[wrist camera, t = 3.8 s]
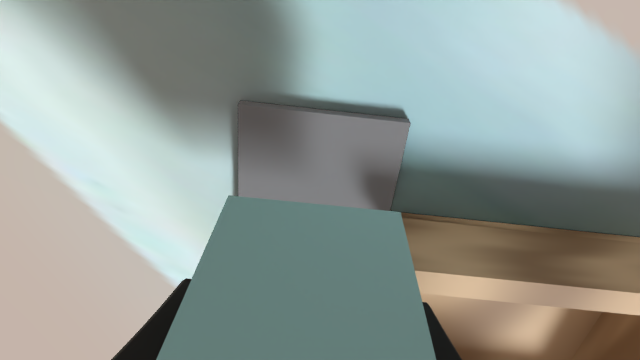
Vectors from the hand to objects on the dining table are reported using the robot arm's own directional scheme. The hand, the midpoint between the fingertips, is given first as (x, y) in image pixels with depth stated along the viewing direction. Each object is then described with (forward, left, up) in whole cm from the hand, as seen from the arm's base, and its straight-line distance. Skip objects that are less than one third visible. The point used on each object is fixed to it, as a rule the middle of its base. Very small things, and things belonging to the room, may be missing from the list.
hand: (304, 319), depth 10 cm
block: (0, 0, -2) cm, 2 cm away
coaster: (0, 0, -7) cm, 7 cm away
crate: (-9, +6, -7) cm, 13 cm away
